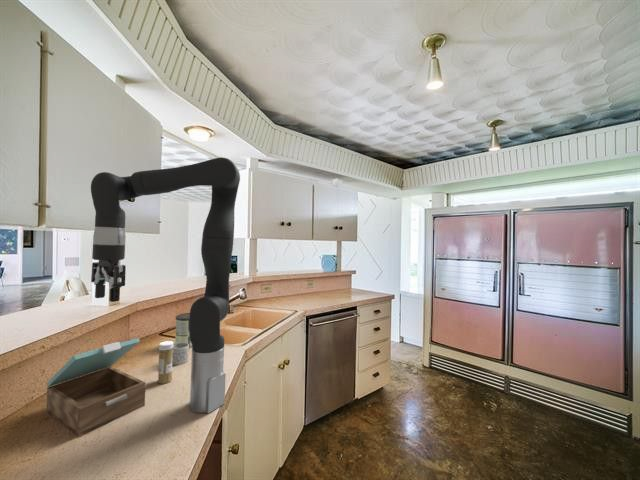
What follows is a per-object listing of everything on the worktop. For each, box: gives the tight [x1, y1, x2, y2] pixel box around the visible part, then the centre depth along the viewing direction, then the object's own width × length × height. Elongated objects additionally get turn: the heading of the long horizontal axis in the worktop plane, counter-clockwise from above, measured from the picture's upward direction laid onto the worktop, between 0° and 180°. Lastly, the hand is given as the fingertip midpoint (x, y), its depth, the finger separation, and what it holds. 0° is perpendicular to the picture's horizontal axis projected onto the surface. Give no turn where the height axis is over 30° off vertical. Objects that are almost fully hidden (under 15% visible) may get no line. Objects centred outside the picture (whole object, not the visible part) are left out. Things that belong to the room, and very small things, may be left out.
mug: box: [172, 343, 190, 366], centre depth 113 cm, size 10×7×7 cm, turn 160°
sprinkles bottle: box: [157, 340, 174, 385], centre depth 99 cm, size 5×5×14 cm
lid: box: [46, 337, 141, 388], centre depth 83 cm, size 21×16×2 cm
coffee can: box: [174, 312, 192, 349], centre depth 133 cm, size 10×10×14 cm
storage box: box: [46, 366, 146, 438], centre depth 82 cm, size 21×16×7 cm
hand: (106, 299), depth 81 cm, fingers open, 8 cm apart
